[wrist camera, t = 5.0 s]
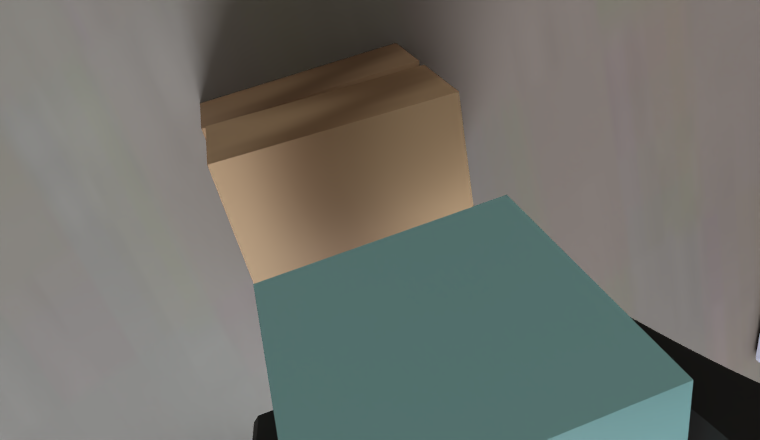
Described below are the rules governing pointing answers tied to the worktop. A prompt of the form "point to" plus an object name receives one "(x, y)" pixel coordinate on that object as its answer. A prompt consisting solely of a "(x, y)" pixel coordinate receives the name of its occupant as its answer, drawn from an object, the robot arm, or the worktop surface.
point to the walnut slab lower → (308, 84)
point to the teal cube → (462, 342)
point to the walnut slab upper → (340, 169)
